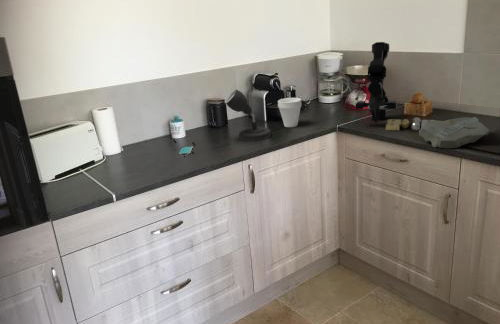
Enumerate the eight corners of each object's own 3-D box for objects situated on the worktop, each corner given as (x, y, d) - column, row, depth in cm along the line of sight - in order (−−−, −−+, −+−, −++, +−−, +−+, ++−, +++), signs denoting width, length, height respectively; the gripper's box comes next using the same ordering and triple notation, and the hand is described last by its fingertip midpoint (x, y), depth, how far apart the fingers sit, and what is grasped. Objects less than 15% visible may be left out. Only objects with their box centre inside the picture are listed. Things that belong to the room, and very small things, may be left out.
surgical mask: (171, 139, 207) (192, 135, 210) (173, 147, 208) (193, 144, 211) (179, 150, 188) (202, 145, 191) (181, 159, 190) (203, 155, 193)
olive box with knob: (385, 130, 204) (385, 122, 203) (387, 124, 214) (388, 117, 212) (408, 130, 200) (408, 123, 199) (409, 124, 210) (409, 117, 209)
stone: (437, 140, 168) (412, 121, 185) (435, 158, 172) (410, 138, 189) (503, 127, 170) (472, 110, 188) (500, 146, 174) (470, 127, 192)
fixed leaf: (411, 130, 200) (411, 123, 199) (412, 124, 209) (412, 117, 208) (434, 131, 196) (435, 123, 195) (434, 124, 205) (435, 117, 204)
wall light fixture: (222, 89, 211) (262, 82, 213) (230, 137, 220) (268, 130, 221) (224, 94, 197) (267, 87, 198) (232, 145, 205) (273, 138, 206)
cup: (286, 129, 220) (284, 103, 215) (275, 125, 231) (273, 100, 226) (306, 125, 224) (305, 99, 220) (295, 121, 235) (293, 96, 231)
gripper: (353, 93, 202) (353, 126, 207) (395, 93, 195) (394, 126, 200) (357, 89, 211) (357, 120, 216) (397, 88, 204) (396, 120, 209)
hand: (375, 122), depth 210 cm, fingers closed
